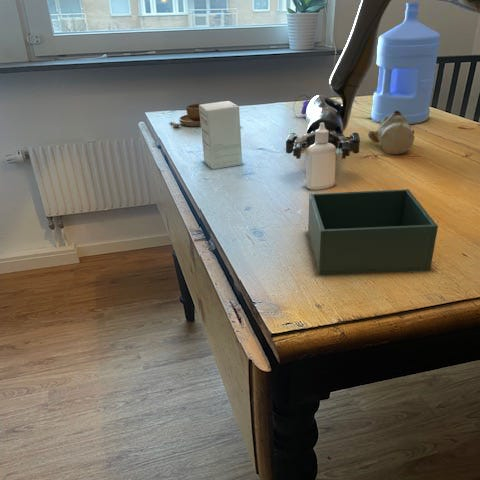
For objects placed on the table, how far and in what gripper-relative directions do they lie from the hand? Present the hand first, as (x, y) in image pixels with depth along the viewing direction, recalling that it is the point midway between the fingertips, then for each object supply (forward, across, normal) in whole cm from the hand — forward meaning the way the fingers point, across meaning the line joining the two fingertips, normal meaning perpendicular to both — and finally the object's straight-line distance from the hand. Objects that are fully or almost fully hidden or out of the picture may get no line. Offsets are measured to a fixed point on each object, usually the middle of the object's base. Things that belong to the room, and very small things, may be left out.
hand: (321, 153), depth 94 cm
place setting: (-54, -37, +7) cm, 66 cm away
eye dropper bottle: (-2, 0, +7) cm, 7 cm away
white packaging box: (-17, -23, +7) cm, 29 cm away
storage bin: (+26, +8, +7) cm, 28 cm away
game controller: (-62, -5, +7) cm, 62 cm away
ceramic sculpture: (-29, +15, +7) cm, 34 cm away
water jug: (-59, +19, +7) cm, 62 cm away
